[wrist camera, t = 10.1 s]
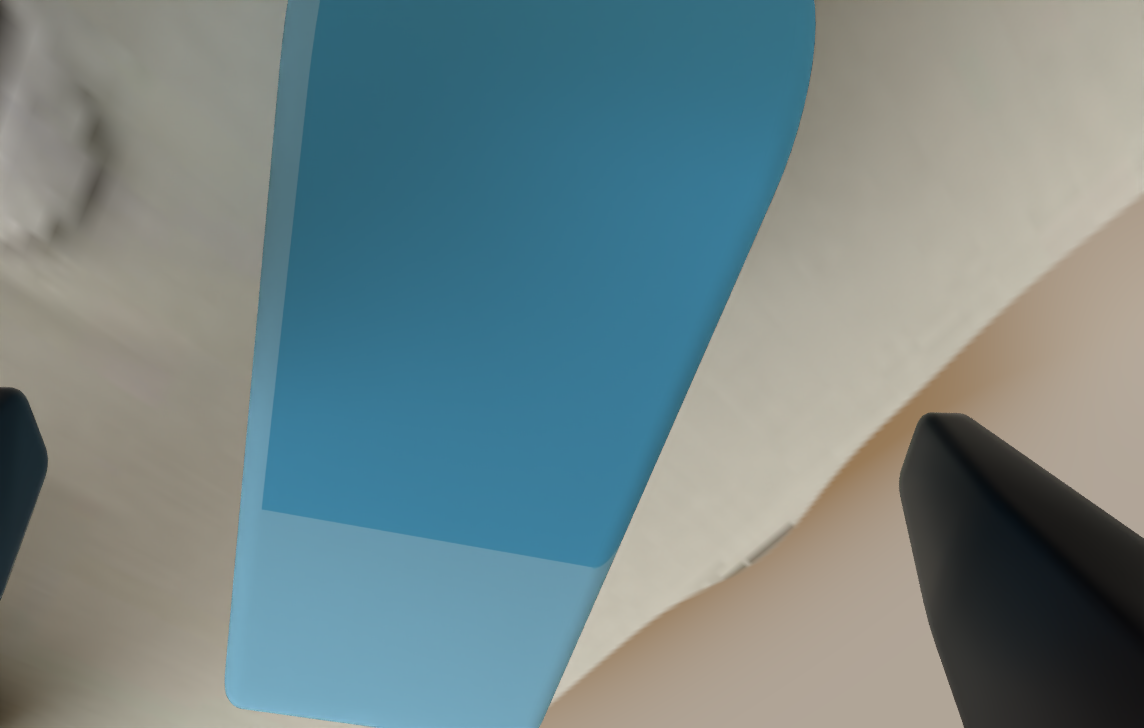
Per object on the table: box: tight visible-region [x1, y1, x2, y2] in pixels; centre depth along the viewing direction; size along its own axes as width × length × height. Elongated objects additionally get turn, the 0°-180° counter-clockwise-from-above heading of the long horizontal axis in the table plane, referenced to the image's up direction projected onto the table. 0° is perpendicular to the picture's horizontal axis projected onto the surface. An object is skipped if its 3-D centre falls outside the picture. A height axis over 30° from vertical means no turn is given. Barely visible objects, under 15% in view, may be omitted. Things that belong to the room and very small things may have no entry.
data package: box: [225, 0, 816, 728], centre depth 15 cm, size 12×4×12 cm, turn 165°
